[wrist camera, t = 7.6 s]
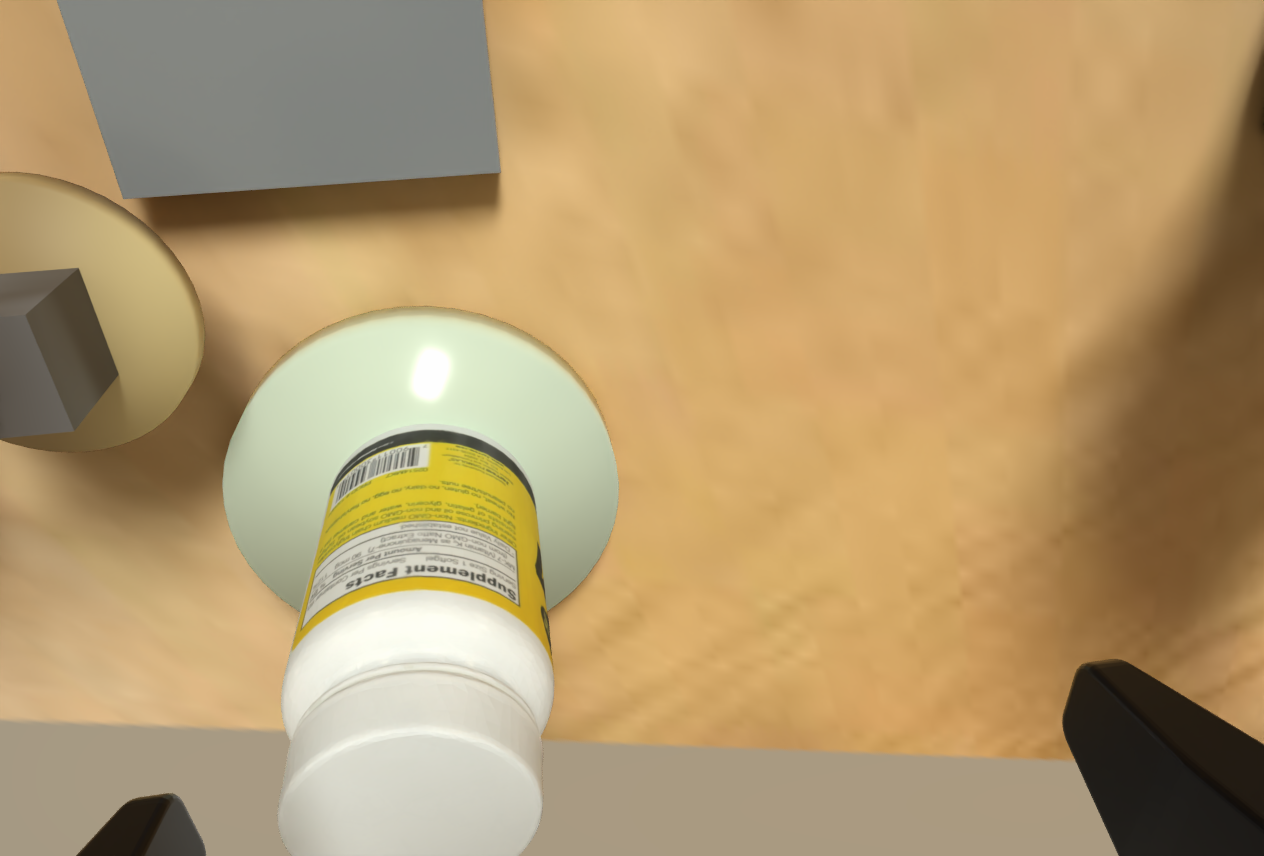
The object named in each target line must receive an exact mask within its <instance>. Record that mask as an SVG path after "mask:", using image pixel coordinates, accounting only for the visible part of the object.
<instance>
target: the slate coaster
mask: <svg viewBox="0 0 1264 856" xmlns="http://www.w3.org/2000/svg"><path fill="white" fill-rule="evenodd" d="M57 2H58V5H59V8H60V11H61V14H62V17H63V20H64V23H65V26H66V29H67V32H68V35H69V38H70V41H71V44H72V47H73V50H74V53H75V56H76V59H77V62H78V65H79V68H80V71H81V74H82V77H83V80H84V83H85V86H86V89H87V92H88V95H89V98H90V101H91V104H92V107H93V110H94V113H95V116H96V119H97V122H98V125H99V128H100V131H101V134H102V137H103V140H104V143H105V146H106V149H107V152H108V155H109V158H110V161H111V164H112V167H113V170H114V173H115V176H116V179H117V181H118V184H119V187H120V190H121V193H122V196H123V199H132V198H146V197H160V196H175V195H189V194H203V193H217V192H232V191H246V190H260V189H274V188H288V187H303V186H317V185H331V184H345V183H360V182H374V181H388V180H402V179H417V178H431V177H445V176H459V175H474V174H488V173H501V168H500V157H499V148H498V138H497V129H496V120H495V111H494V102H493V92H492V83H491V74H490V65H489V55H488V46H487V37H486V28H485V18H484V9H483V0H57Z"/></svg>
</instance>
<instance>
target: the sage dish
mask: <svg viewBox="0 0 1264 856" xmlns="http://www.w3.org/2000/svg"><path fill="white" fill-rule="evenodd" d="M416 424H444V425H453V426H458V427H462V428H466V429H470V430H473V431H476V432H478V433H481V434H483V435H485V436H487V437H489V438H491V439H493V440H494V441H496V442H497V443H499V444H500V445H501V446H503V447H504V448H505V449H506V450H508V451H509V452H510V453H511V454H512V455H513V456H514V457H515V458H516V460H517V461H518V462H519V463H520V465H521V466H522V467H523V469H524V471H525V472H526V474H527V476H528V478H529V480H530V483H531V485H532V488H533V492H534V497H535V503H536V511H537V520H538V530H539V540H540V550H541V560H542V568H543V577H544V586H545V597H546V607H547V611H548V610H550V609H551V608H553V607H554V606H556V605H557V604H558V603H559V602H561V601H562V600H563V599H564V598H565V597H567V596H568V595H569V594H570V593H571V592H572V591H574V589H575V588H576V587H577V586H578V585H579V584H580V583H581V582H582V581H583V580H584V579H585V578H586V576H587V575H588V574H589V572H590V571H591V570H592V568H593V567H594V565H595V564H596V563H597V561H598V560H599V558H600V556H601V554H602V552H603V550H604V548H605V546H606V545H607V543H608V540H609V537H610V534H611V532H612V529H613V526H614V523H615V518H616V512H617V507H618V492H619V482H618V474H617V466H616V461H615V457H614V453H613V448H612V444H611V440H610V437H609V433H608V430H607V426H606V423H605V419H604V417H603V414H602V412H601V410H600V408H599V406H598V404H597V401H596V399H595V398H594V396H593V395H592V393H591V392H590V390H589V388H588V387H587V385H586V384H585V382H584V381H583V380H582V378H581V377H580V376H579V375H578V374H577V373H576V372H575V371H574V369H573V368H572V367H571V366H570V365H569V364H568V363H567V362H566V361H565V360H564V359H563V358H561V357H560V356H559V355H558V354H557V353H556V352H554V351H553V350H552V349H551V348H550V347H548V346H547V345H545V344H544V343H542V342H541V341H539V340H538V339H536V338H535V337H533V336H531V335H530V334H528V333H526V332H524V331H522V330H520V329H518V328H516V327H514V326H512V325H510V324H508V323H505V322H502V321H499V320H497V319H494V318H491V317H488V316H485V315H482V314H478V313H473V312H468V311H464V310H459V309H454V308H443V307H432V306H412V307H396V308H389V309H382V310H376V311H371V312H367V313H364V314H360V315H357V316H353V317H349V318H346V319H344V320H342V321H339V322H337V323H334V324H332V325H330V326H327V327H325V328H323V329H321V330H319V331H318V332H316V333H314V334H313V335H311V336H309V337H308V338H306V339H304V340H302V341H301V342H300V343H298V344H297V345H296V346H295V347H293V348H292V349H291V350H290V351H288V352H287V353H286V354H285V355H283V356H282V357H281V358H280V359H279V360H278V361H277V362H276V363H275V364H274V366H273V367H272V368H271V369H270V370H269V371H268V372H267V373H266V374H265V376H264V377H263V379H262V380H261V382H260V383H259V384H258V386H257V387H256V389H255V390H254V392H253V393H252V396H251V398H250V400H249V402H248V404H247V406H246V408H245V410H244V412H243V414H242V417H241V419H240V421H239V423H238V425H237V427H236V429H235V432H234V434H233V436H232V438H231V440H230V444H229V447H228V451H227V455H226V458H225V462H224V473H223V484H222V485H223V498H224V507H225V511H226V515H227V519H228V523H229V527H230V530H231V532H232V534H233V537H234V539H235V541H236V544H237V546H238V548H239V550H240V551H241V553H242V554H243V556H244V558H245V559H246V561H247V562H248V564H249V566H250V567H251V568H252V569H253V571H254V572H255V573H256V574H257V575H258V577H259V578H260V579H261V580H262V581H263V583H264V584H266V585H267V586H268V587H269V588H270V589H271V590H272V591H273V592H274V593H275V594H276V595H277V596H278V597H280V598H281V599H282V600H284V601H285V602H286V603H288V604H289V605H290V606H292V607H293V608H295V609H296V610H297V611H299V612H300V611H301V607H302V603H303V599H304V595H305V591H306V587H307V583H308V579H309V576H310V572H311V567H312V562H313V558H314V554H315V550H316V546H317V542H318V538H319V534H320V530H321V526H322V522H323V518H324V513H325V509H326V505H327V501H328V497H329V492H330V489H331V486H332V483H333V481H334V479H335V477H336V475H337V473H338V471H339V470H340V468H341V467H342V465H343V464H344V463H345V461H346V460H347V459H348V458H349V457H350V456H351V455H352V454H353V453H354V452H355V451H356V450H357V449H358V448H359V447H361V446H362V445H363V444H365V443H366V442H368V441H369V440H371V439H373V438H374V437H376V436H378V435H381V434H383V433H385V432H387V431H390V430H393V429H396V428H400V427H404V426H409V425H416Z"/></svg>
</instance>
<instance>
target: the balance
mask: <svg viewBox="0 0 1264 856" xmlns="http://www.w3.org/2000/svg"><path fill="white" fill-rule="evenodd" d="M204 344H205V328H204V318H203V314H202V309H201V305H200V301H199V299H198V296H197V294H196V291H195V288H194V286H193V284H192V282H191V280H190V278H189V276H188V274H187V273H186V271H185V269H184V267H183V266H182V265H181V263H180V262H179V260H178V259H177V257H176V256H175V255H174V253H173V252H172V251H171V250H170V248H169V247H168V246H167V245H166V244H165V243H164V242H163V241H162V239H161V238H160V237H159V236H158V235H157V234H156V233H154V232H153V231H152V230H151V229H150V228H149V227H148V226H147V225H146V224H145V223H143V222H142V221H141V220H140V219H138V218H137V217H135V216H134V215H133V214H131V213H130V212H129V211H127V210H126V209H125V208H123V207H121V206H119V205H118V204H116V203H114V202H113V201H111V200H109V199H108V198H106V197H104V196H102V195H100V194H97V193H95V192H93V191H91V190H89V189H87V188H84V187H82V186H79V185H76V184H73V183H70V182H67V181H64V180H61V179H56V178H52V177H48V176H43V175H38V174H30V173H21V172H0V440H3V441H5V442H8V443H12V444H16V445H20V446H24V447H28V448H33V449H39V450H46V451H56V452H87V451H95V450H101V449H108V448H111V447H115V446H118V445H122V444H125V443H128V442H130V441H132V440H135V439H137V438H140V437H141V436H143V435H145V434H147V433H148V432H150V431H152V430H153V429H155V428H156V427H157V426H159V425H160V424H161V423H162V422H164V421H165V420H166V419H167V418H168V417H169V416H170V415H171V414H172V413H173V411H174V410H175V409H176V408H177V407H178V405H179V404H180V402H181V401H182V399H183V397H184V396H185V394H186V393H187V391H188V389H189V388H190V386H191V385H192V383H193V381H194V380H195V377H196V375H197V373H198V370H199V368H200V365H201V361H202V357H203V353H204Z"/></svg>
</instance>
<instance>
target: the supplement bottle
mask: <svg viewBox="0 0 1264 856" xmlns="http://www.w3.org/2000/svg"><path fill="white" fill-rule="evenodd" d="M553 699H554V672H553V662H552V652H551V642H550V630H549V620H548V615H547V607H546V597H545V586H544V577H543V568H542V560H541V550H540V540H539V530H538V520H537V511H536V503H535V497H534V492H533V488H532V485H531V483H530V480H529V478H528V476H527V474H526V472H525V471H524V469H523V467H522V466H521V465H520V463H519V462H518V461H517V460H516V458H515V457H514V456H513V455H512V454H511V453H510V452H509V451H508V450H506V449H505V448H504V447H503V446H501V445H500V444H499V443H497V442H496V441H494V440H493V439H491V438H489V437H487V436H485V435H483V434H481V433H478V432H476V431H473V430H470V429H466V428H462V427H458V426H453V425H444V424H416V425H409V426H404V427H400V428H396V429H393V430H390V431H387V432H385V433H383V434H381V435H378V436H376V437H374V438H373V439H371V440H369V441H368V442H366V443H365V444H363V445H362V446H361V447H359V448H358V449H357V450H356V451H355V452H354V453H353V454H352V455H351V456H350V457H349V458H348V459H347V460H346V461H345V463H344V464H343V465H342V467H341V468H340V470H339V471H338V473H337V475H336V477H335V479H334V481H333V483H332V486H331V489H330V492H329V497H328V501H327V505H326V509H325V513H324V518H323V522H322V526H321V530H320V534H319V538H318V542H317V546H316V550H315V554H314V558H313V562H312V567H311V572H310V576H309V579H308V583H307V587H306V591H305V595H304V599H303V603H302V607H301V611H300V615H299V619H298V623H297V627H296V631H295V635H294V639H293V643H292V647H291V651H290V655H289V659H288V663H287V667H286V671H285V675H284V680H283V686H282V695H281V711H282V718H283V723H284V726H285V730H286V732H287V734H288V737H289V739H290V741H291V744H290V747H289V751H288V755H287V760H286V768H285V773H284V779H283V784H282V789H281V794H280V799H279V805H278V814H277V815H278V827H279V832H280V835H281V838H282V841H283V843H284V845H285V847H286V849H287V850H288V852H289V853H290V854H291V856H519V855H520V854H521V853H522V852H523V850H524V849H525V848H526V847H527V846H528V844H529V843H530V842H531V840H532V838H533V837H534V835H535V833H536V831H537V829H538V826H539V824H540V820H541V816H542V809H543V784H542V763H543V746H542V740H541V734H542V733H543V731H544V729H545V727H546V724H547V722H548V719H549V716H550V713H551V709H552V704H553Z"/></svg>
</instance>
